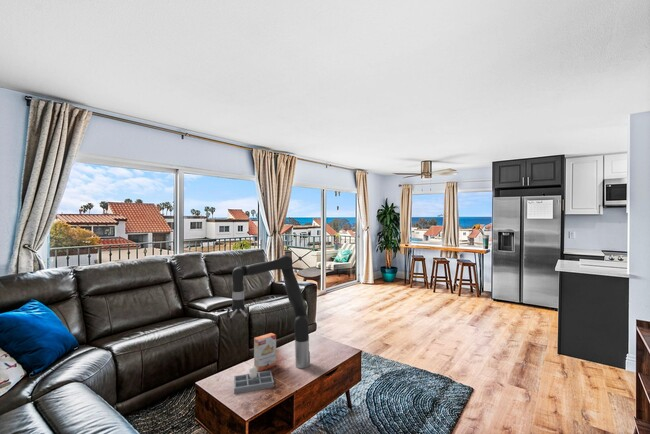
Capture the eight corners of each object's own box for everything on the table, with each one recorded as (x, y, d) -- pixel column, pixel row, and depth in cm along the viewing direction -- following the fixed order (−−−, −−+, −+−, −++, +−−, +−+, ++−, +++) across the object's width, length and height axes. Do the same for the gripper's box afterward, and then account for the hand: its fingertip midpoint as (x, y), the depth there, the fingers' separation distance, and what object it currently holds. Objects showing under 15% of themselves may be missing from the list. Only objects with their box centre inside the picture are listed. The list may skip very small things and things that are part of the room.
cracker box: (258, 372, 204) (258, 340, 205) (253, 369, 209) (253, 337, 209) (276, 365, 214) (276, 334, 214) (271, 362, 219) (271, 332, 219)
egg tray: (270, 374, 201) (270, 370, 201) (273, 386, 187) (273, 382, 187) (234, 380, 195) (234, 376, 195) (234, 393, 180) (234, 388, 180)
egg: (256, 377, 197) (256, 364, 197) (257, 381, 193) (257, 367, 193) (249, 378, 196) (249, 365, 196) (249, 382, 191) (249, 368, 191)
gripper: (249, 295, 214) (249, 319, 214) (226, 297, 210) (226, 322, 210) (249, 298, 207) (249, 323, 207) (226, 300, 203) (227, 325, 202)
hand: (238, 322), depth 208 cm, fingers open, 8 cm apart
